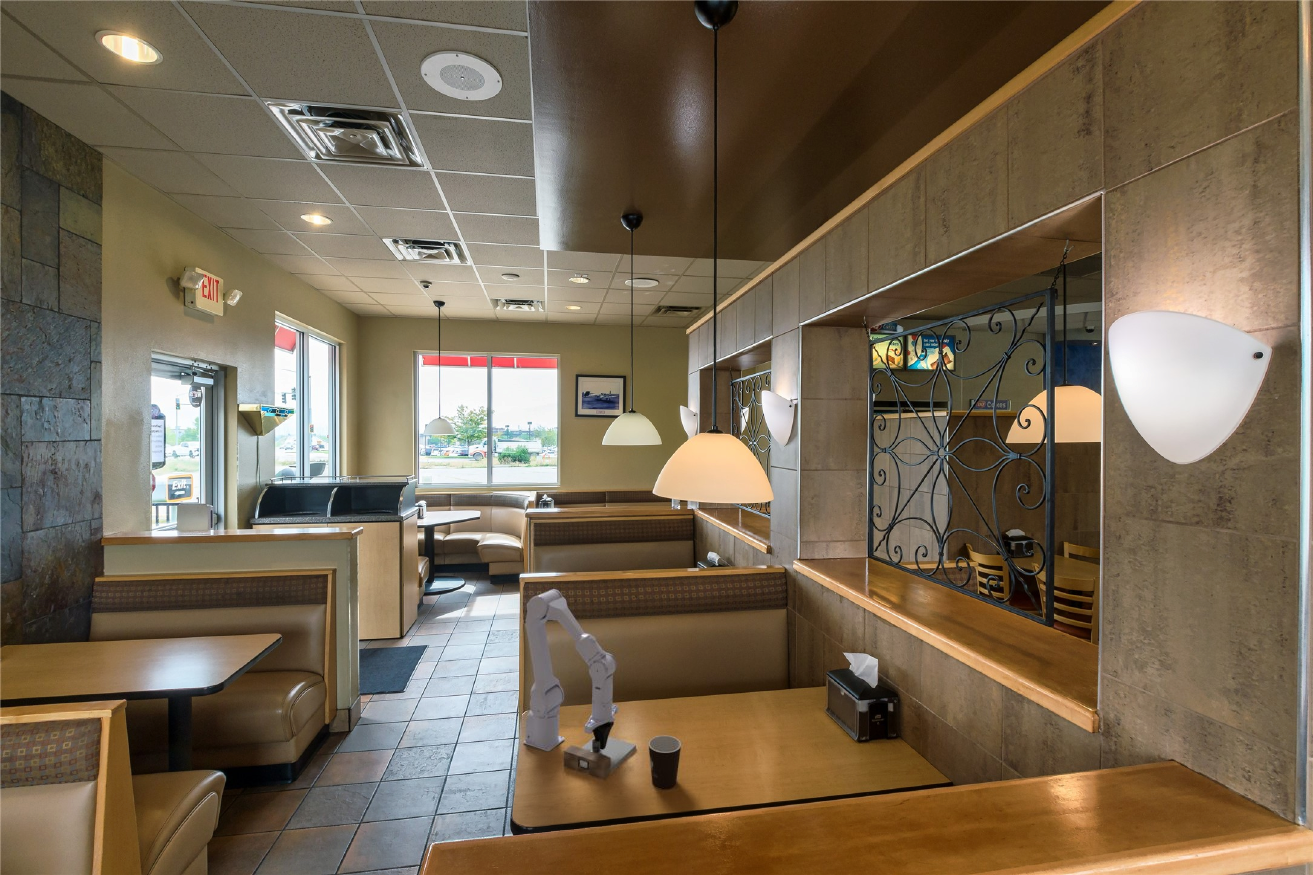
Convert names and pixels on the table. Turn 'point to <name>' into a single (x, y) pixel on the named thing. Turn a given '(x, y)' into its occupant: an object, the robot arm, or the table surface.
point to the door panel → (614, 750)
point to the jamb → (597, 762)
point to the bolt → (594, 749)
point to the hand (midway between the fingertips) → (601, 747)
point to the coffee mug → (664, 761)
